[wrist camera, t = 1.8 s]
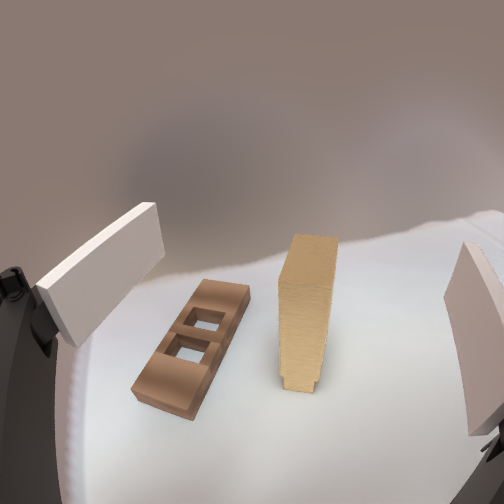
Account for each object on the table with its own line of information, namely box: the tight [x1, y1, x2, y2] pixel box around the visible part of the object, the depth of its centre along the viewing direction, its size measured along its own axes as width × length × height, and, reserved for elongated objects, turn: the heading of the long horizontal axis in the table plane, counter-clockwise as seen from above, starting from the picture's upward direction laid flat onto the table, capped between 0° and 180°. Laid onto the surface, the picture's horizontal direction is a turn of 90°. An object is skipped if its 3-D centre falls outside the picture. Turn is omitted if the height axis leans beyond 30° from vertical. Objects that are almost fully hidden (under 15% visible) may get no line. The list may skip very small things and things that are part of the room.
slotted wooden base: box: [131, 279, 250, 421], centre depth 35 cm, size 20×7×2 cm, turn 163°
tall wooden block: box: [278, 234, 338, 393], centre depth 28 cm, size 7×4×15 cm, turn 163°
